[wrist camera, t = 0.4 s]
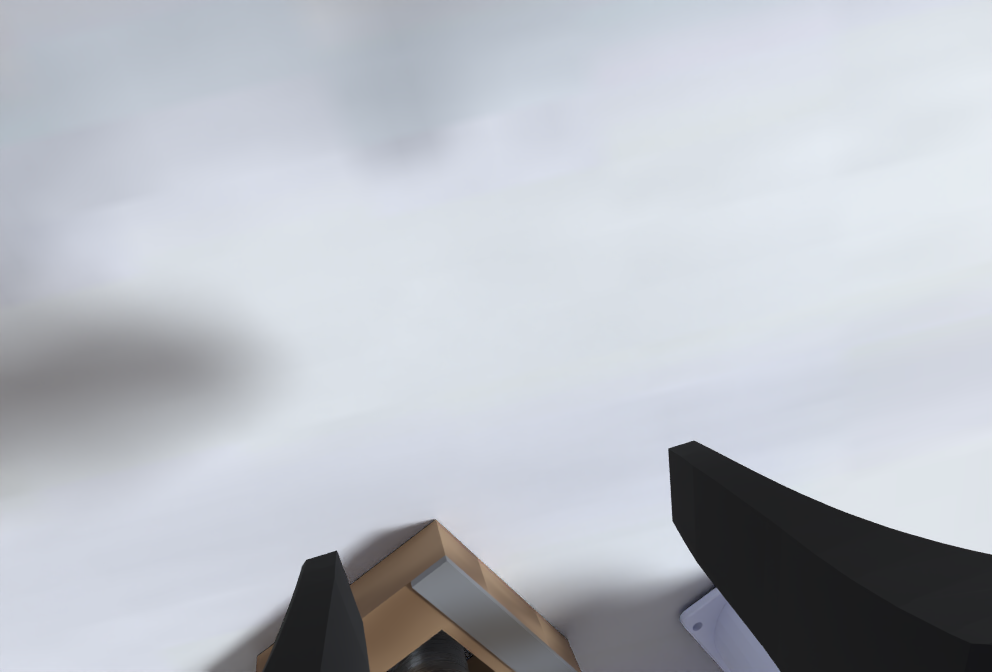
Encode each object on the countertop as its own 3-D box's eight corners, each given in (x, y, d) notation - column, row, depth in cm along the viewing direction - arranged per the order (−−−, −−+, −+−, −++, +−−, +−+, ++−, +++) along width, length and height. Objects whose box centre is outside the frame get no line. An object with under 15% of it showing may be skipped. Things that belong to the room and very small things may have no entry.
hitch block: (567, 639, 30) (585, 682, 28) (414, 753, 30) (421, 804, 28) (435, 519, 25) (447, 561, 23) (257, 656, 26) (252, 708, 24)
